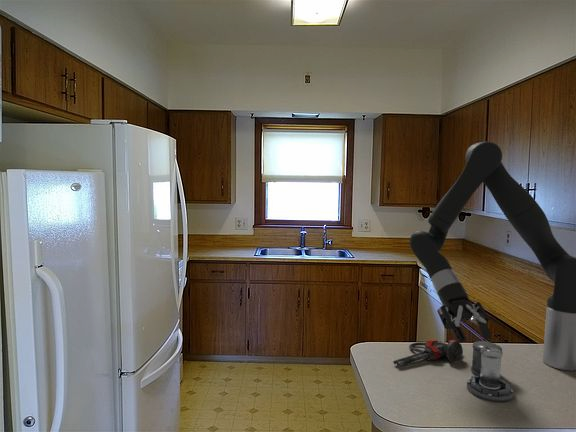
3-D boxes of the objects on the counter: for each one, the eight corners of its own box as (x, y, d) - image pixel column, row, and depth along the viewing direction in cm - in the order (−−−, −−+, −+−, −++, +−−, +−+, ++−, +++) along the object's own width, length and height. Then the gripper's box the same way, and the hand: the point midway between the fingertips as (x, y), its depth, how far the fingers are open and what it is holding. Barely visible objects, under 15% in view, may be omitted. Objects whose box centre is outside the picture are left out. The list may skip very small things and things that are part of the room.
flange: (489, 378, 115) (490, 371, 115) (523, 398, 104) (524, 390, 104) (457, 384, 111) (458, 376, 111) (489, 405, 101) (490, 396, 101)
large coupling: (487, 366, 123) (489, 340, 122) (506, 378, 115) (508, 351, 115) (465, 368, 121) (467, 341, 120) (482, 380, 114) (484, 352, 113)
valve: (435, 347, 141) (472, 358, 128) (375, 365, 129) (410, 379, 116) (433, 329, 142) (470, 337, 128) (373, 345, 130) (408, 356, 116)
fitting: (489, 381, 111) (491, 345, 110) (504, 390, 106) (507, 353, 105) (474, 384, 109) (476, 347, 109) (489, 393, 105) (491, 355, 104)
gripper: (435, 283, 117) (463, 336, 107) (475, 279, 122) (505, 331, 112) (422, 296, 122) (447, 348, 112) (461, 292, 127) (488, 342, 117)
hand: (476, 339), depth 112 cm, fingers open, 8 cm apart
